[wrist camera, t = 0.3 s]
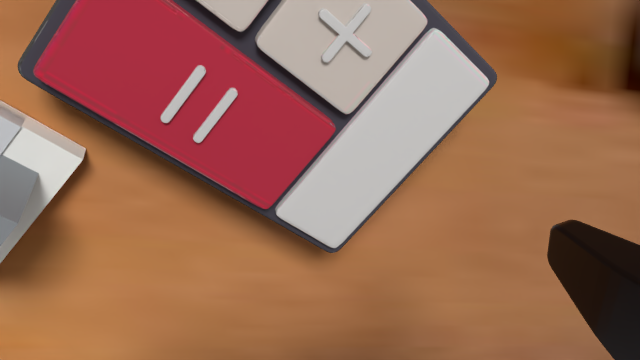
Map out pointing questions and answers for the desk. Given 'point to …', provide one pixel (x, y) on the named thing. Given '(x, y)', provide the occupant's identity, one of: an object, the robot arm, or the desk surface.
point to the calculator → (269, 94)
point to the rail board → (51, 166)
